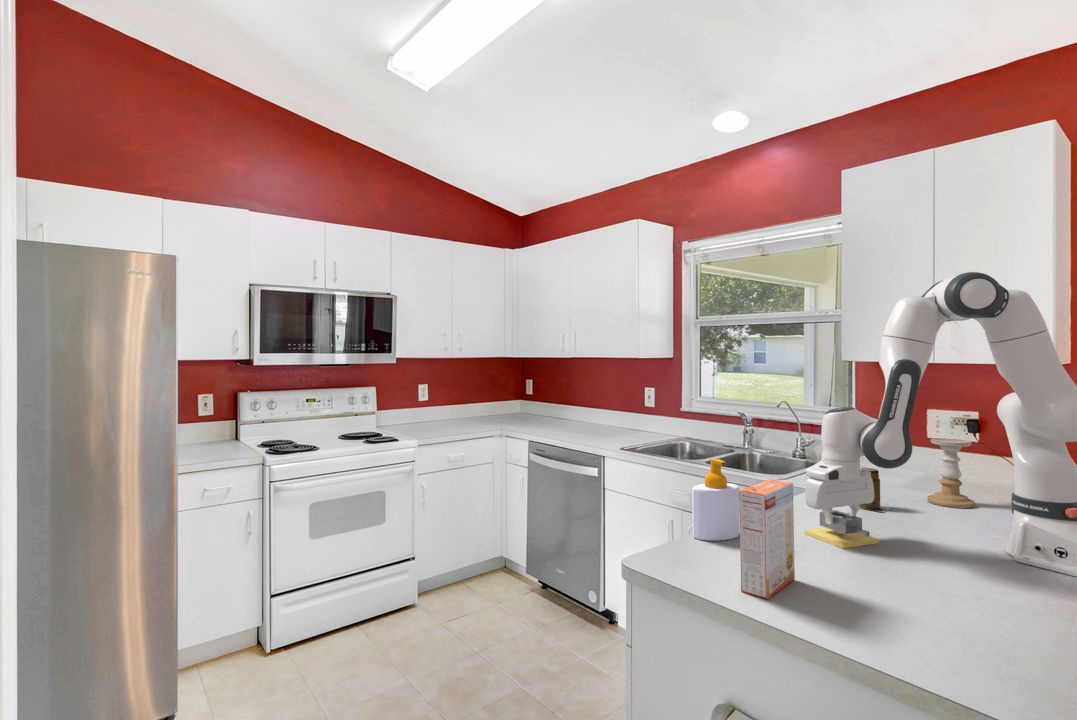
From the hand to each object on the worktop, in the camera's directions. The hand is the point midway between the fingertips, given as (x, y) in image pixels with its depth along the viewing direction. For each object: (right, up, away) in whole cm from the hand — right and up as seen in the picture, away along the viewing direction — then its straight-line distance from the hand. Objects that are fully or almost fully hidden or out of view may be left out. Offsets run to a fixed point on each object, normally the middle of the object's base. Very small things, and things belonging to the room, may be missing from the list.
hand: (840, 522), depth 144 cm
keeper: (0, -4, 0) cm, 4 cm away
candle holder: (+53, -4, +33) cm, 63 cm away
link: (+1, -2, -2) cm, 2 cm away
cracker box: (-31, -5, -29) cm, 43 cm away
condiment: (+25, -4, +28) cm, 38 cm away
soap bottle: (-32, -5, +3) cm, 32 cm away
